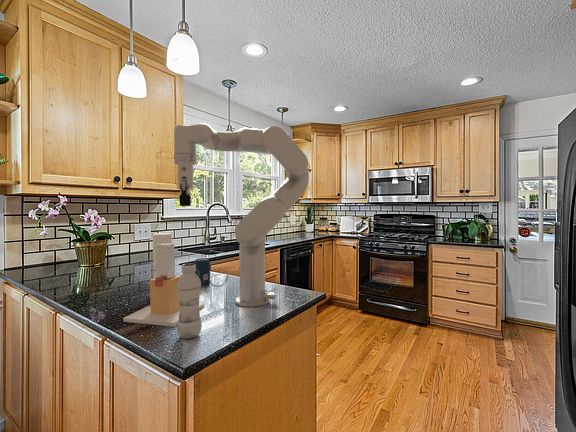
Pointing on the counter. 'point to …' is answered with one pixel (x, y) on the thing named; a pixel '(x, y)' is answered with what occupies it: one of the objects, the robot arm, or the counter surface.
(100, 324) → the counter surface
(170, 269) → the steel column
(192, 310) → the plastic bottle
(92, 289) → the counter surface
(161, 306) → the stand base
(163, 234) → the cylindrical container
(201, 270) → the soda can
